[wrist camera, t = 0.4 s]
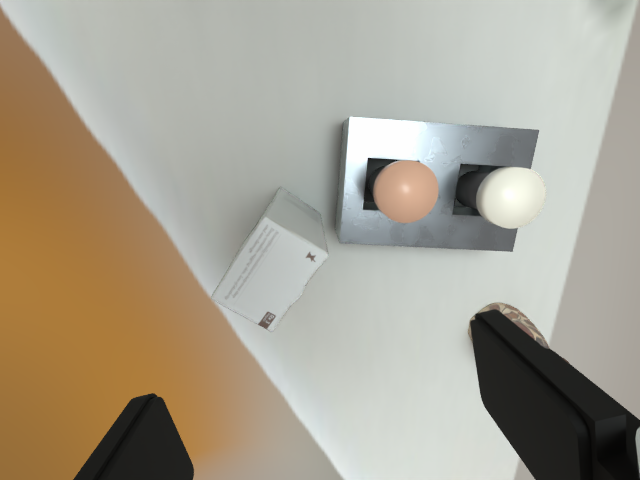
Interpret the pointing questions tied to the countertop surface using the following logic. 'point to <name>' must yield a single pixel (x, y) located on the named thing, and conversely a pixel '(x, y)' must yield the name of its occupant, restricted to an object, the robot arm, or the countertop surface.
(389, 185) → the knob
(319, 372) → the countertop surface
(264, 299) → the skincare box
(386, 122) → the housing
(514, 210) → the knob
